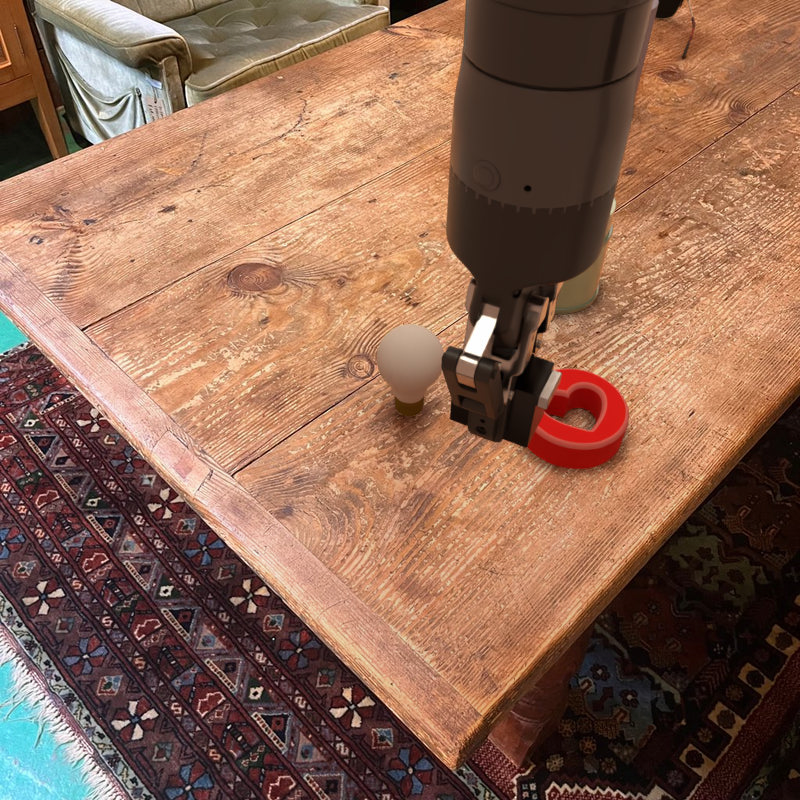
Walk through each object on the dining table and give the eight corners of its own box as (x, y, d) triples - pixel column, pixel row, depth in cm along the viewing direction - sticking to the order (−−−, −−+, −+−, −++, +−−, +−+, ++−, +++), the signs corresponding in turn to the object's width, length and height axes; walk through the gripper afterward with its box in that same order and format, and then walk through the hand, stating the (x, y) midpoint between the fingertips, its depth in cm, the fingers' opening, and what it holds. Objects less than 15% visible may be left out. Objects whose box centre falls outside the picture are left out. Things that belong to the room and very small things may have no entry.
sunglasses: (680, 19, 135) (689, -11, 131) (691, 65, 124) (701, 34, 121) (601, 14, 136) (607, -16, 132) (605, 59, 125) (612, 29, 122)
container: (628, 92, 116) (653, -15, 105) (635, 126, 109) (663, 15, 98) (559, 88, 116) (577, -19, 105) (562, 122, 109) (581, 11, 98)
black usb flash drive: (553, 417, 47) (565, 365, 44) (536, 452, 45) (547, 400, 42) (468, 387, 49) (473, 335, 45) (449, 419, 47) (453, 367, 43)
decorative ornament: (575, 487, 66) (582, 465, 64) (495, 422, 71) (498, 399, 69) (643, 431, 71) (652, 409, 68) (564, 374, 75) (569, 351, 73)
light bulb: (364, 414, 72) (361, 335, 64) (404, 379, 75) (406, 300, 67) (413, 446, 69) (416, 368, 62) (453, 409, 72) (460, 330, 65)
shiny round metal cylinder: (609, 273, 86) (631, 187, 78) (582, 324, 80) (604, 237, 72) (528, 249, 89) (542, 164, 81) (497, 297, 83) (508, 210, 75)
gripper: (566, 265, 29) (514, 524, 41) (658, 105, 37) (591, 361, 50) (386, 213, 31) (389, 474, 44) (512, 73, 39) (484, 326, 52)
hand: (497, 412), depth 47 cm, fingers closed on black usb flash drive, 3 cm apart
